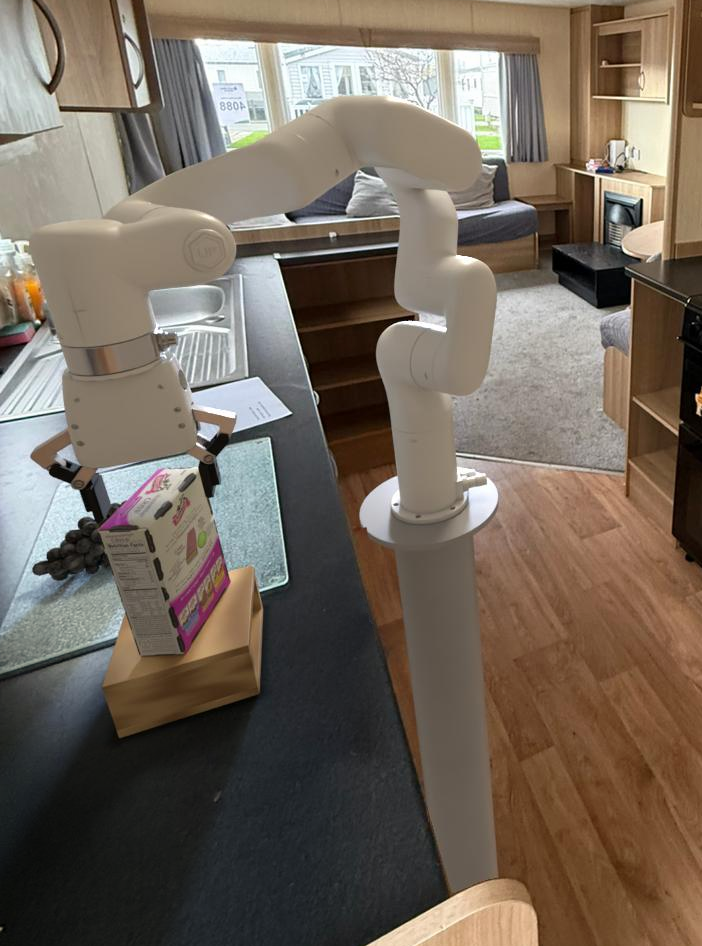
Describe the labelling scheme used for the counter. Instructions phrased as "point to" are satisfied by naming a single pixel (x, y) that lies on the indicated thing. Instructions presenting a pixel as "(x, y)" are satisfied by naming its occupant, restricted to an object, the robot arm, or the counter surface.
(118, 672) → the wooden block
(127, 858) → the counter surface
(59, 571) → the fruit
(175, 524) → the candy bar box
